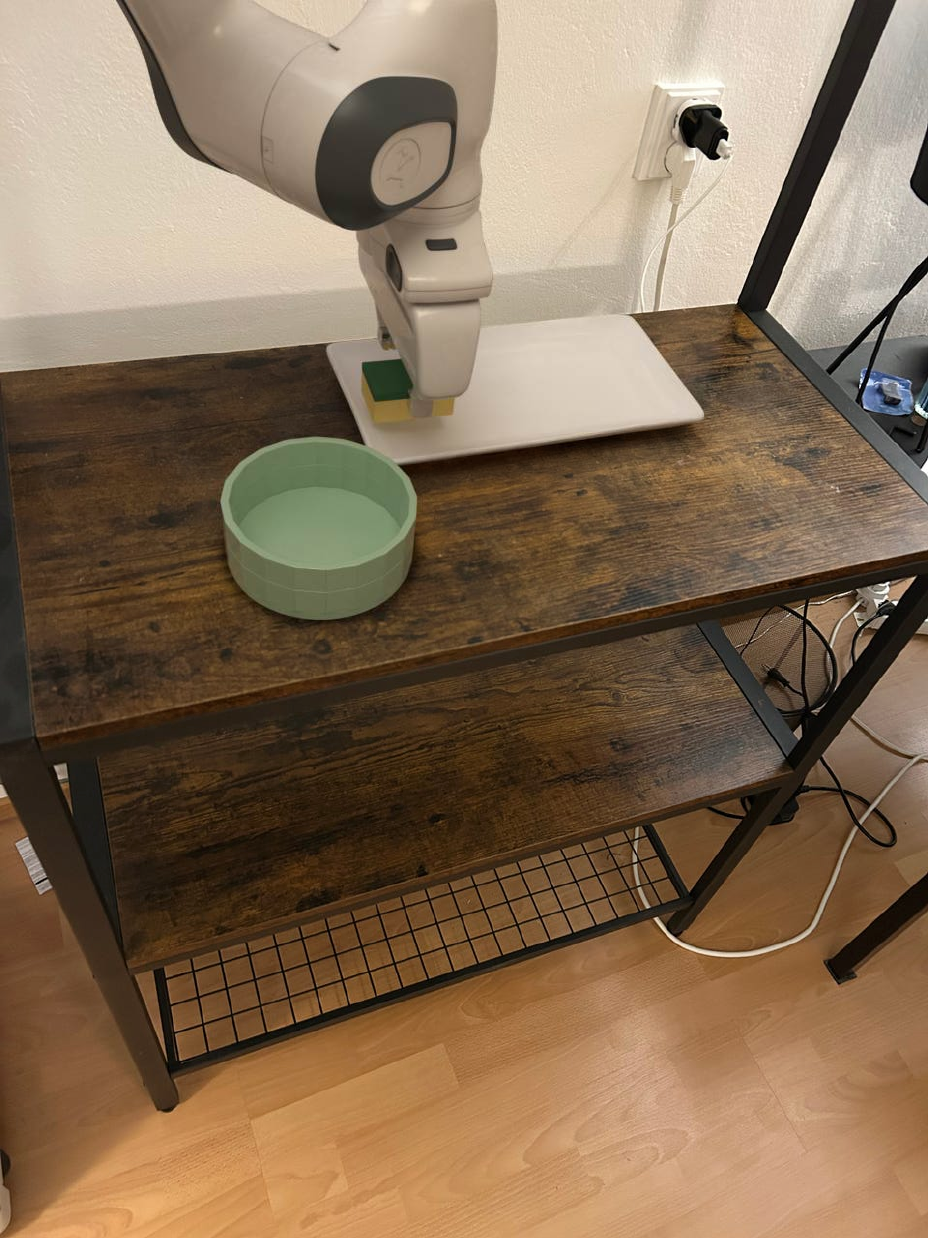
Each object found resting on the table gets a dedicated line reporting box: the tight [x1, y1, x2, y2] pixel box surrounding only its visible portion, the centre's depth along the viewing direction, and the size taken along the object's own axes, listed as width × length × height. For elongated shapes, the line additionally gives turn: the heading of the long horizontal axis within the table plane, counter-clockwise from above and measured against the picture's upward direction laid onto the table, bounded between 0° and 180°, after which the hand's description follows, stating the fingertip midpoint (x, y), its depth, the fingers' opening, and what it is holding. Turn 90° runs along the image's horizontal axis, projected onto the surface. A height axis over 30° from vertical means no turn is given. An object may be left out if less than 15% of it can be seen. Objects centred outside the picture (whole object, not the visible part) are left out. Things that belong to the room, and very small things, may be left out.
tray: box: [325, 314, 705, 467], centre depth 89 cm, size 17×32×4 cm, turn 110°
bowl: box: [219, 436, 418, 621], centre depth 73 cm, size 14×14×6 cm
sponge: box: [361, 359, 455, 423], centre depth 82 cm, size 7×4×3 cm, turn 108°
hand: (403, 377), depth 81 cm, fingers open, 8 cm apart
